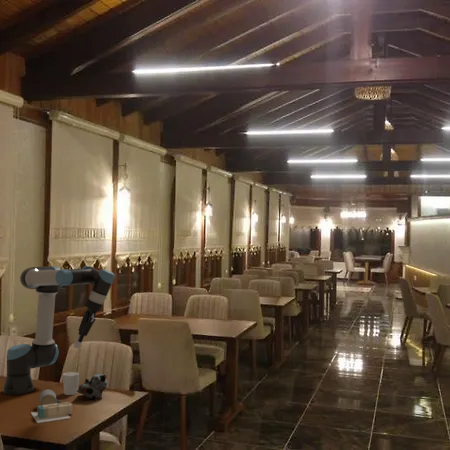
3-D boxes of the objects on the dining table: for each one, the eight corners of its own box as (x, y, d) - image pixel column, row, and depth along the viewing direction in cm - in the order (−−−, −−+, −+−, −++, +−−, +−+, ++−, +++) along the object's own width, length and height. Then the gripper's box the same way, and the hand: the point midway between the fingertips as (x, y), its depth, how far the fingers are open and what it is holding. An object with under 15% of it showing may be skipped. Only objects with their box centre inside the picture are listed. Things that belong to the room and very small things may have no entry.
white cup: (82, 392, 294) (82, 373, 294) (70, 396, 287) (70, 376, 288) (71, 390, 298) (71, 371, 299) (59, 394, 292) (59, 374, 292)
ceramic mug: (40, 411, 263) (40, 394, 263) (38, 406, 271) (39, 389, 271) (64, 408, 267) (64, 392, 267) (62, 404, 275) (62, 388, 275)
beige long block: (69, 410, 263) (37, 414, 256) (69, 401, 263) (37, 405, 256) (72, 413, 257) (40, 418, 251) (72, 405, 258) (40, 409, 251)
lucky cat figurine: (81, 393, 293) (94, 367, 296) (101, 403, 291) (114, 378, 294) (72, 392, 279) (86, 365, 282) (93, 403, 276) (107, 376, 280)
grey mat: (30, 413, 259) (30, 412, 259) (62, 409, 266) (62, 408, 266) (37, 423, 245) (37, 422, 245) (70, 418, 252) (70, 417, 252)
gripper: (106, 307, 268) (86, 354, 267) (99, 300, 280) (80, 345, 279) (92, 302, 265) (71, 349, 264) (85, 295, 277) (66, 341, 275)
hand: (76, 347), depth 271 cm, fingers closed
